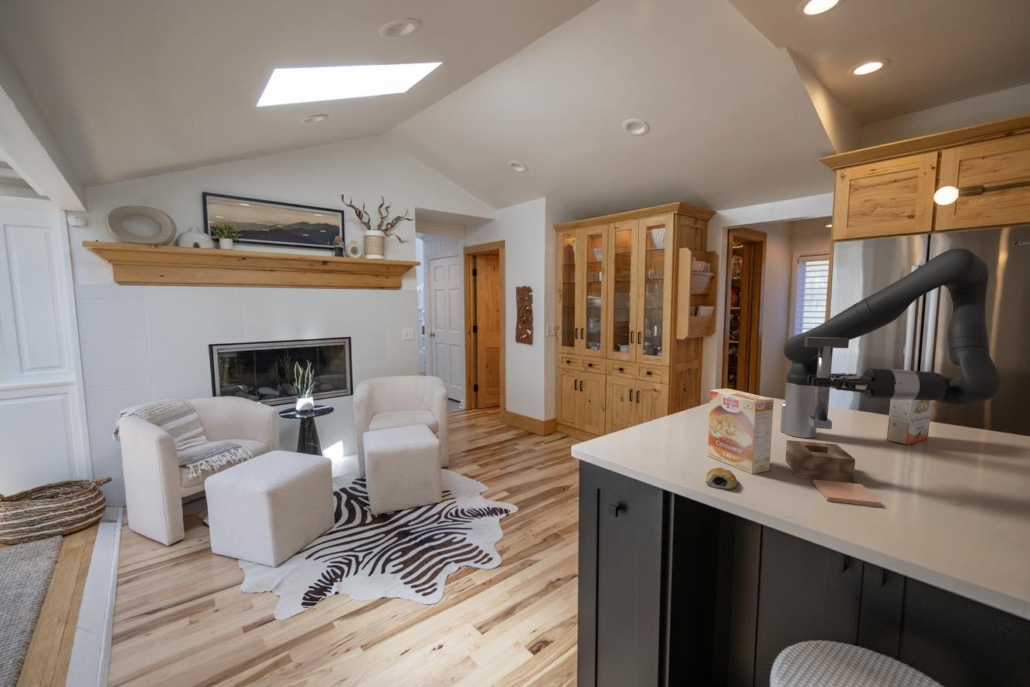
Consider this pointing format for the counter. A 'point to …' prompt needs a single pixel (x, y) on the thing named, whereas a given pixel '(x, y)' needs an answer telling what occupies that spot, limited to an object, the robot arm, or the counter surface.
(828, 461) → the block
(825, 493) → the pad
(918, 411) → the cracker box
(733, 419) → the coffeecake box
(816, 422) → the key
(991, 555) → the counter surface
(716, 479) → the pastry
